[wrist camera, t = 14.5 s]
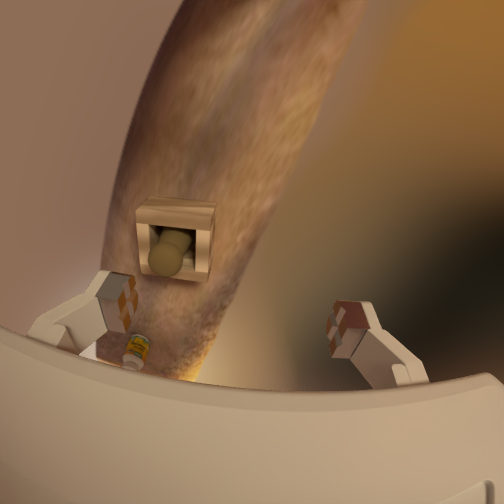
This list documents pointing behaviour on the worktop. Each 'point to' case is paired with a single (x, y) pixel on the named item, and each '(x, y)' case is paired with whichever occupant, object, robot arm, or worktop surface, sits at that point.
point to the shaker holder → (180, 216)
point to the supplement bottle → (136, 352)
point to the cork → (170, 250)
